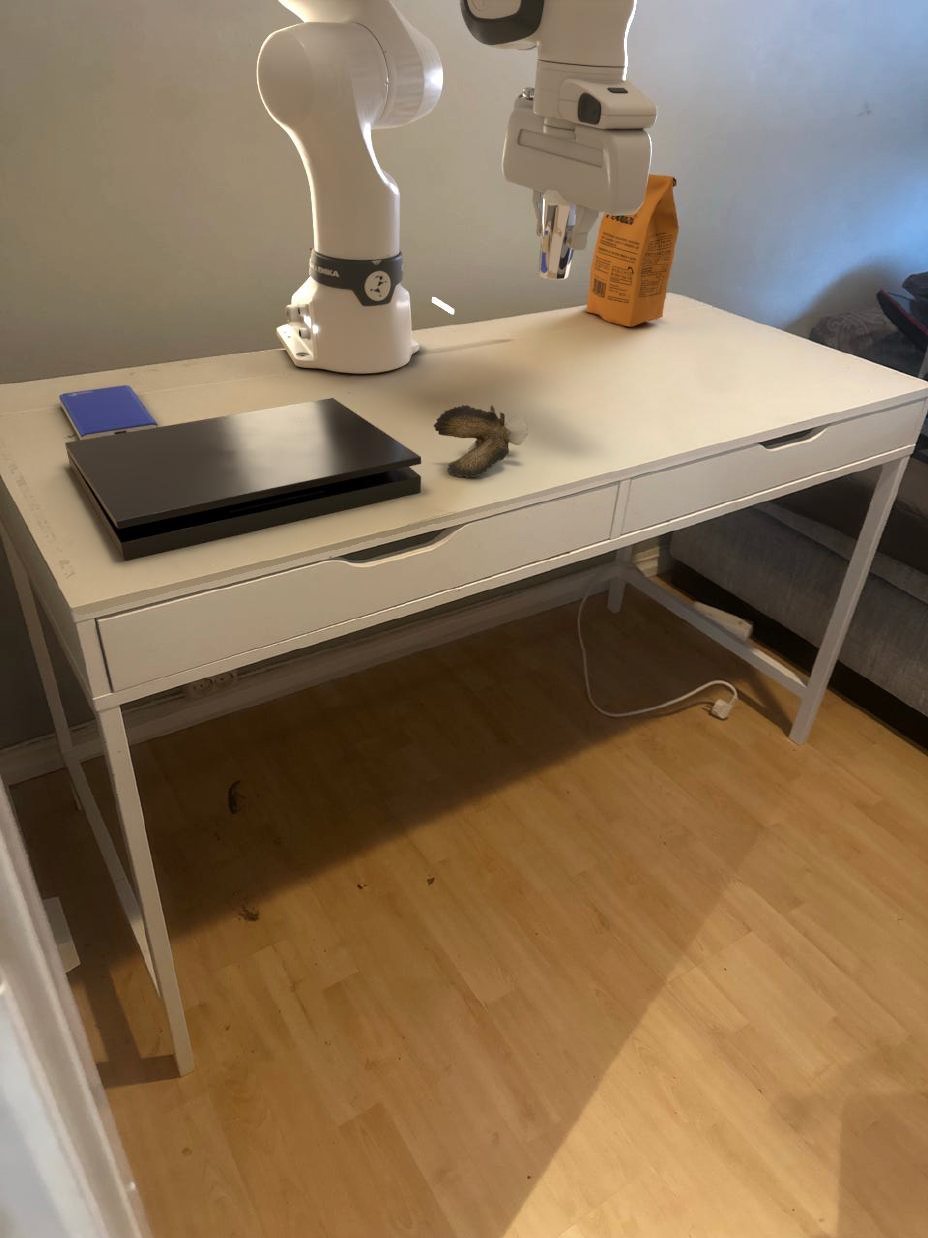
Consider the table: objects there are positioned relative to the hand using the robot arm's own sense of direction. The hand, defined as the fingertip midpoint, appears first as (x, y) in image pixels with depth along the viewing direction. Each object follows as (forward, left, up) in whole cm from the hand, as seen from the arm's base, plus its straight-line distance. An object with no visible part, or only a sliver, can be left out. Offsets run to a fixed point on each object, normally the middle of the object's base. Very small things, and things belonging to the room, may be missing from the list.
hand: (560, 242), depth 97 cm
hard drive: (-22, -46, -21) cm, 55 cm away
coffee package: (-31, +39, -21) cm, 54 cm away
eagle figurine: (+6, -13, -21) cm, 25 cm away
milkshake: (0, 0, -4) cm, 4 cm away
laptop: (-1, -37, -21) cm, 43 cm away
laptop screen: (-1, -37, -18) cm, 42 cm away
